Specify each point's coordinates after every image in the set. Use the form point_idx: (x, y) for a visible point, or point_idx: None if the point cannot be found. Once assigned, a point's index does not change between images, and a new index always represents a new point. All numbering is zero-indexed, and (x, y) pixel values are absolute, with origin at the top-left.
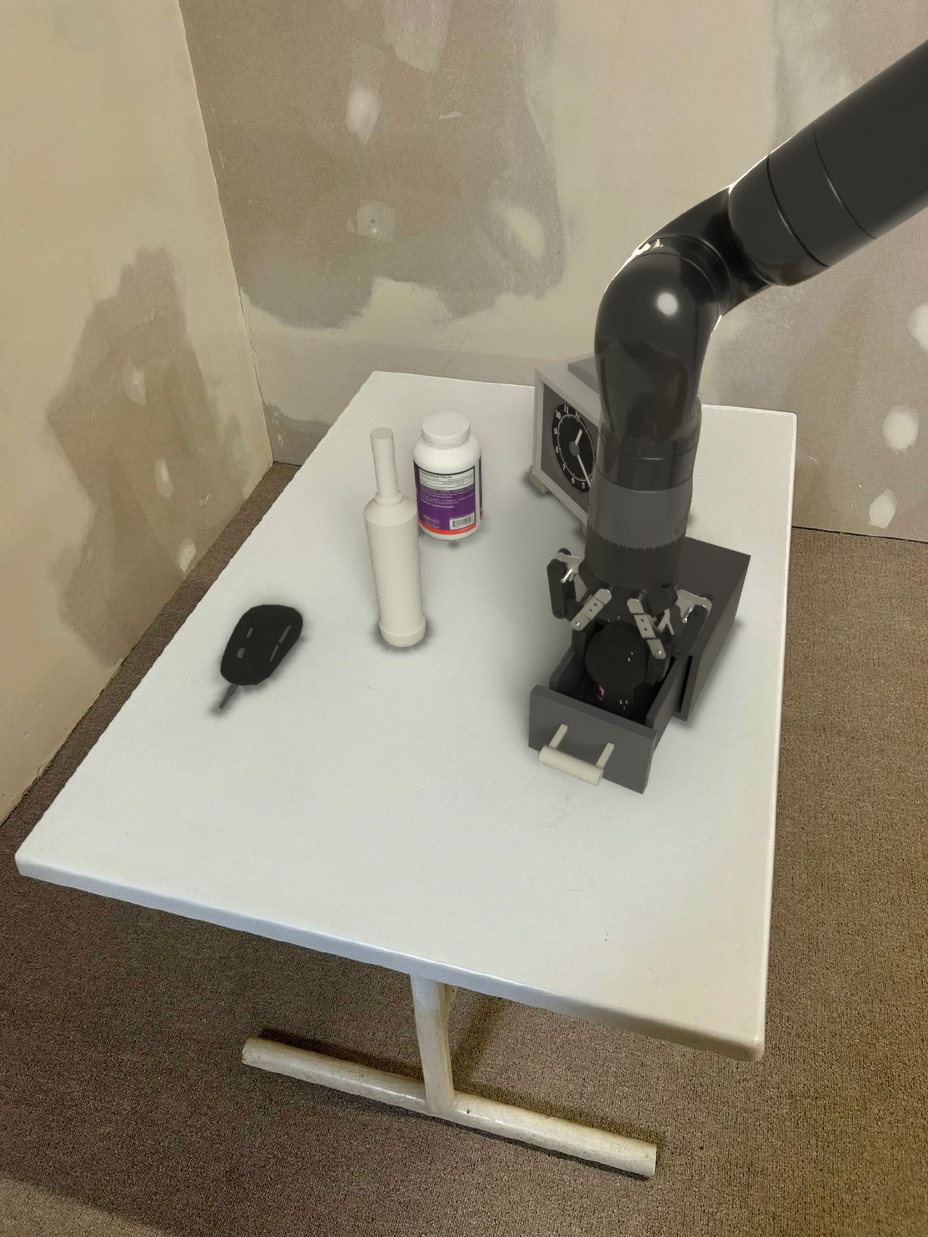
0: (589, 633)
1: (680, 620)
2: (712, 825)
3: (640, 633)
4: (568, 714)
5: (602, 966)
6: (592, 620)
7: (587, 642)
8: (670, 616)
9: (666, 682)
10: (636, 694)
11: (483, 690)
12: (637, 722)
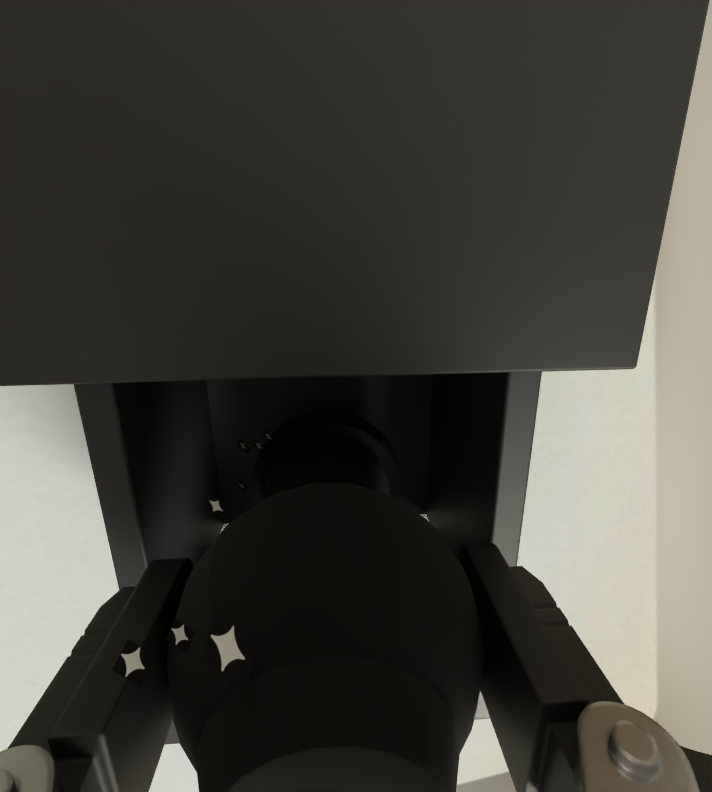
0: (143, 736)
1: (495, 190)
2: (571, 517)
3: (442, 783)
4: None
5: (475, 751)
6: (96, 759)
7: (166, 696)
8: (435, 181)
9: (502, 510)
10: (381, 447)
11: (13, 454)
12: (387, 422)
